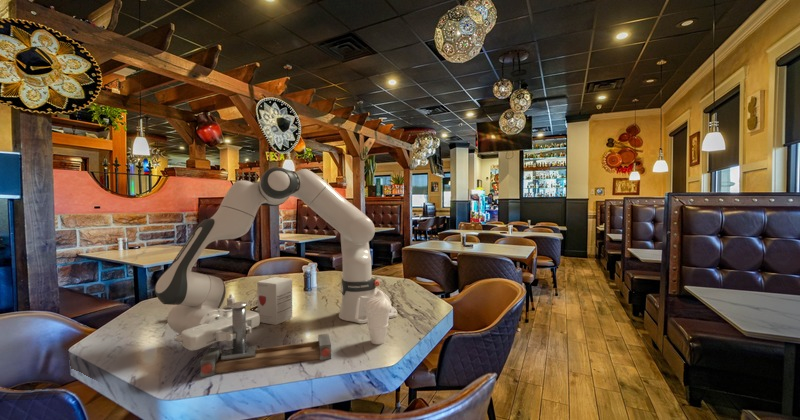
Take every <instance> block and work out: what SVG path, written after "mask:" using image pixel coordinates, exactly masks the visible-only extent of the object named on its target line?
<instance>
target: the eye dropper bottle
mask: <svg viewBox="0 0 800 420" xmlns="http://www.w3.org/2000/svg"><path fill="white" fill-rule="evenodd" d="M233 303H236V299H235V297H233V294H232V293H230V294H229V296H228V298H226V305H224V306H223V307H222V308H228V307H231V304H233Z"/></svg>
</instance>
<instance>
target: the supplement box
mask: <svg viewBox="0 0 800 420" xmlns="http://www.w3.org/2000/svg"><path fill="white" fill-rule="evenodd" d="M256 283H257V313H258V314H259V316H260V323H263V324H267V325H268V324H269V325H274V326H277V325H279V324H281V323H283V322H286V321H287V320H290V319H292V318H293V279H292V278H288V277H278V276H273V277H269V278H267V279H262V280H259V281H257V282H256Z"/></svg>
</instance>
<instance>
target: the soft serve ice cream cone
mask: <svg viewBox="0 0 800 420" xmlns="http://www.w3.org/2000/svg"><path fill="white" fill-rule="evenodd" d="M384 293H385V292H384V291H382V290H381V291H378V292H377V293H376V294H375V295H374V296H373V297H371V298H370V299H369V300H367V301H366V304H365V305H364V306H365V310H366V315H367V323H366V324H367V325H366V326H367V328H368V333H369V337H370V342H371V344H372V345H382V344H385V342H386V337H387V332H388V327H389V319H390V318H389V314H390V313H389V312H390V310H391V306H392V303H391V304H390V302H389V301H388V300H387V299H386V298H385V296H384Z"/></svg>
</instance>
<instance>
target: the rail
mask: <svg viewBox="0 0 800 420" xmlns="http://www.w3.org/2000/svg"><path fill="white" fill-rule="evenodd" d="M317 338H318V340H314V341H309V342H307V341H306V342H301V343H300V342H299V343H293V344H292V343H291V344H283V345H276V346H275V345H274V346H269V347H268V346H267V347H260V348H257V354H256V357H253V358H245V359H237V360H230V361H222V362H221V356H222V354H223V352H222V346H213V347H208V348H207V350H206V352H205V353H204V355H203V356H202V358H201V360H200V361H199V362H200V364H199V365H200V378H204V377H205V378H206V377H213V376H215V374H219V373H228V372H235V371H241V370H248V369H256V368H263V367H269V366H276V365H283V364H285V365H286V364H291V363H299V362H305V361H307V362H308V361H311V360H312V361H313V360H319V361H323V360H324V361H325V360H330V359H331V360H332V341H331V339H330V334H329V333H323V334H322V333H321V334H318V336H317Z"/></svg>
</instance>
